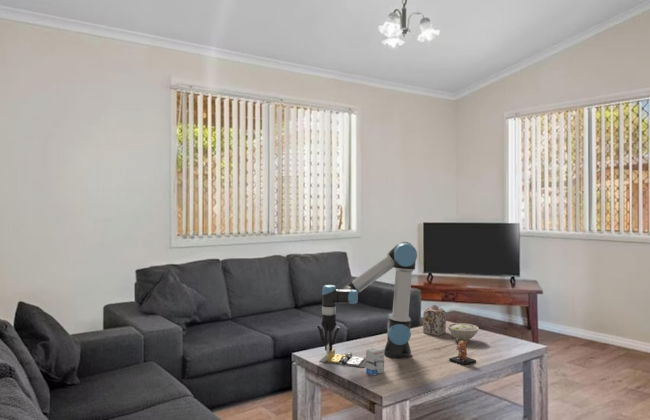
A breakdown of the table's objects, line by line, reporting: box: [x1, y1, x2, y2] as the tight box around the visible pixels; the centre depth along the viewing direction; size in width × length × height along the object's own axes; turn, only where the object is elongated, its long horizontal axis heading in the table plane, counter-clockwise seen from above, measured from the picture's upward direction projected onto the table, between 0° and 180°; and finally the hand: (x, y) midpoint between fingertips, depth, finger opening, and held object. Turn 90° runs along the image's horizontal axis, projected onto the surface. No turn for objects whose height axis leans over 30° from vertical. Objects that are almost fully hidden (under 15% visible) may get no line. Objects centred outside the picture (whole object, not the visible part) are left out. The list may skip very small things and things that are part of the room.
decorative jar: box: [422, 304, 447, 337], centre depth 322 cm, size 12×12×18 cm
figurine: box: [448, 339, 477, 367], centre depth 264 cm, size 10×10×12 cm
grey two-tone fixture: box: [318, 355, 366, 369], centre depth 263 cm, size 25×14×1 cm, turn 70°
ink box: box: [365, 346, 385, 376], centre depth 246 cm, size 9×5×12 cm, turn 129°
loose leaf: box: [325, 347, 348, 363], centre depth 264 cm, size 10×12×4 cm
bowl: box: [446, 322, 479, 343], centre depth 304 cm, size 19×19×10 cm
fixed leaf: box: [341, 351, 365, 366], centre depth 261 cm, size 10×13×3 cm
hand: (328, 356), depth 266 cm, fingers closed
